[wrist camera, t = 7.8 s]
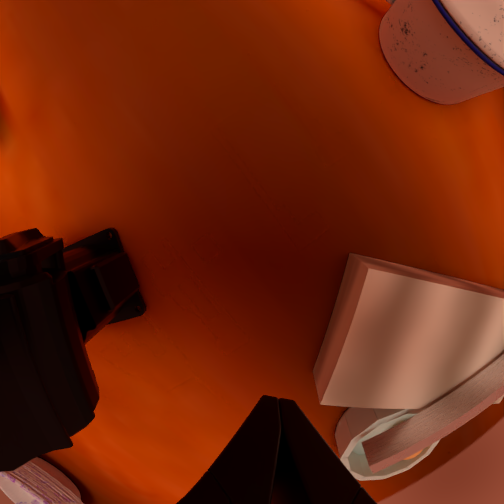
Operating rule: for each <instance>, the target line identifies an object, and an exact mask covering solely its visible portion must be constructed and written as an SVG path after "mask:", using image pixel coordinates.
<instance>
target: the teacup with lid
mask: <svg viewBox="0 0 504 504" xmlns="http://www.w3.org/2000/svg"><path fill="white" fill-rule="evenodd" d="M386 1H387V2H388V3H390V4H391V5H392V6H391V7H390V9H389V10H388V12H387V13H386V14H385V16H384V17H383V19H382V21H381V24H380V28H379V38H380V44H381V48H382V51H383V53H384V56H385V58H386V60H387V62H388V63H389V65H390V67H391V68H392V69H393V71H394V72H395V73H396V75H397V76H398V77H399V78H400V79H401V80H402V81H403V82H404V83H405V84H406V85H407V86H408V87H409V88H410V89H411V90H413V91H414V92H416V93H417V94H419V95H420V96H422V97H424V98H426V99H428V100H430V101H433V102H436V103H439V104H446V105H450V104H457V103H460V102H463V101H465V100H468V99H471V98H473V97H476V96H479V95H482V94H484V93H487V92H490V91H493V90H496V89H498V88H501V87H504V0H386Z"/></svg>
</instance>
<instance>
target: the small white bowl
mask: <svg viewBox="0 0 504 504" xmlns="http://www.w3.org/2000/svg"><path fill="white" fill-rule="evenodd" d="M423 410H425V409H381V408H359V407H349V408H348V409H347V410H346V411H345V412H344V414H343V415H342V416H341V418H340V420H339V421H338V424H337V426H336V430H335V438H336V442H337V447H338V451H339V455H340V459H341V462H342V463H343V464H344V465H345V467H346V468H347V469H348V470H349V471H350V473H351V474H352V475H353V476H354V478H356V479H358V480H378V479H385V478H388V477H391V476H393V475H396V474H398V473H401V472H404V471H406V470H408V469H410V468H411V467H413V466H414V465H415V464H417V463H418V462H420V461H421V460H422V459H424V458H425V457H426V456H428V455H429V454H430V453H431V451H432V450H433V449H434V447H435V446H436V445H437V443H438V442H439V440H438V441H436V442H435V443H433V444H431V445H430V446H428V447H426V448H424V449H423V450H422V451H421V453H420V454H418V455H417V456H416V457H414V458H412V459H408V460H401V461H399V462H397V463H395V464H393V465H391V466H389V467H387V468H385V469H382V470H380V471H378V472H376V473H373V472H372V471H371V469H370V467H369V465H368V462H367V458H366V455H365V452H364V449H363V446H362V443H361V442H363V441H365V440H367V439H370V438H372V437H374V436H376V435H378V434H380V433H382V432H384V431H386V430H388V429H390V428H392V427H394V426H396V425H398V424H400V423H402V422H404V421H405V420H407V419H409V418H411V417H413V416H414V415H416V414H418V413H420V412H421V411H423Z"/></svg>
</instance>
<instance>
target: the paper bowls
mask: <svg viewBox="0 0 504 504" xmlns="http://www.w3.org/2000/svg"><path fill="white" fill-rule="evenodd" d="M0 488H1V490H2V491H3V492H4V493H5V494H6V495H7V496H8V497H9V498H10V499H11V500H12V501H13V502H14V503H15V504H84V503H83V502H82V501H81V495H80V492H79V490H78V488H77V487H76V486H75V485H74V483H73V482H72V481H71V480H70V479H69V478H68V477H67V476H66V475H65V474H63V473H62V472H61V471H60V470H58V469H57V468H56V467H54V466H53V465H51V464H50V463H48V462H46V461H45V460H43V459H41V458H39V457H36V458H34V459H32V460H30V461H29V462H27V463H25V464H24V465H22V466H21V467H19V468H17V469H16V470H14V471H5V472H0Z"/></svg>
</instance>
